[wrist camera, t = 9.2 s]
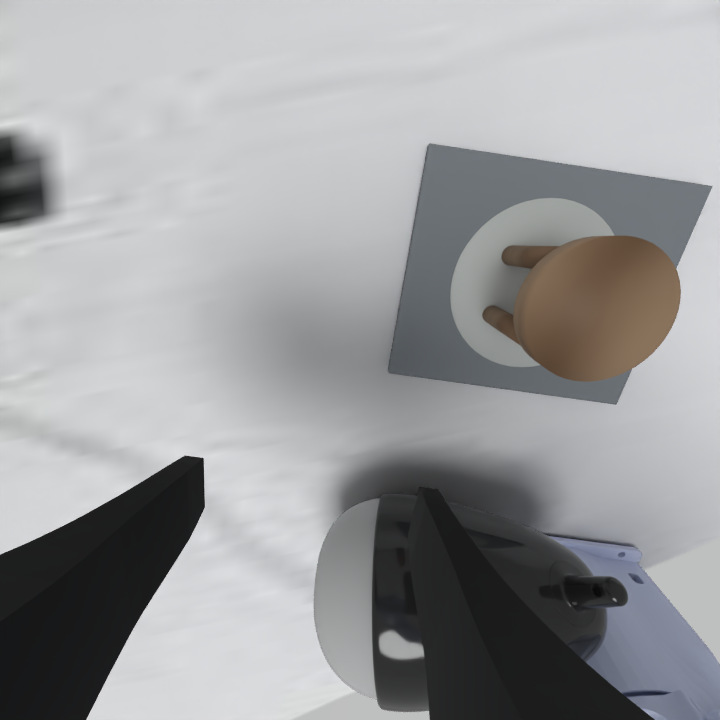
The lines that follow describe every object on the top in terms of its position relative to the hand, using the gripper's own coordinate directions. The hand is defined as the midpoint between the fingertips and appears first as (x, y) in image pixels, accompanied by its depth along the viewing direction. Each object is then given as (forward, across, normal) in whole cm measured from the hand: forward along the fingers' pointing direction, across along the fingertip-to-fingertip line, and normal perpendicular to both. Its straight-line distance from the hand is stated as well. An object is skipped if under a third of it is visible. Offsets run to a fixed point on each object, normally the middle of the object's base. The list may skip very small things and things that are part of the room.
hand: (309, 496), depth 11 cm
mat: (+10, -10, -7) cm, 16 cm away
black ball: (+6, -1, +12) cm, 13 cm away
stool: (+10, -10, -7) cm, 15 cm away
